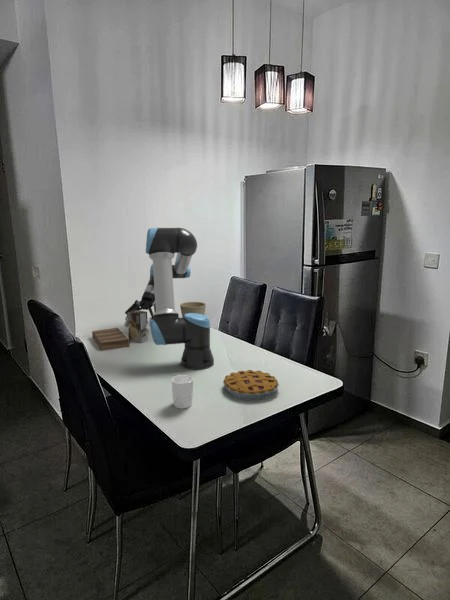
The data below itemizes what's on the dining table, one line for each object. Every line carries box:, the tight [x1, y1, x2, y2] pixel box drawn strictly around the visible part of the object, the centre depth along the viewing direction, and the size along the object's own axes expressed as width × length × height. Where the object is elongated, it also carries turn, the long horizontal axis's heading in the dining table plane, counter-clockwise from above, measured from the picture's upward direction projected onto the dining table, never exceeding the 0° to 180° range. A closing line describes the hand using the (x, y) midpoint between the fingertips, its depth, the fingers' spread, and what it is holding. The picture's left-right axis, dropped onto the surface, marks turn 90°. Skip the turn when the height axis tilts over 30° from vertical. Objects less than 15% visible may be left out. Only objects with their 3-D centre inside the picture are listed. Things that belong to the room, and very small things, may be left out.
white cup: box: [171, 374, 194, 410], centre depth 149 cm, size 8×8×10 cm
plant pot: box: [179, 301, 207, 318], centre depth 240 cm, size 15×15×16 cm
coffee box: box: [127, 310, 149, 344], centre depth 221 cm, size 9×6×16 cm
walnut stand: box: [91, 327, 130, 352], centre depth 219 cm, size 24×14×4 cm, turn 29°
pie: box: [222, 369, 280, 401], centre depth 162 cm, size 22×22×5 cm
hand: (136, 327), depth 220 cm, fingers open, 13 cm apart
